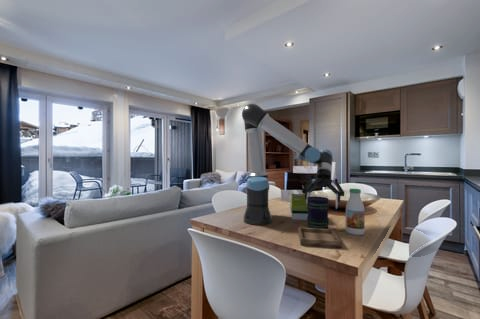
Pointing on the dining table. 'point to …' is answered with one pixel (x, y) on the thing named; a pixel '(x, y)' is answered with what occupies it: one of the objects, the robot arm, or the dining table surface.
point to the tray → (319, 237)
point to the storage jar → (317, 212)
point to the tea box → (298, 205)
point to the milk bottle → (355, 213)
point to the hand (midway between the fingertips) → (321, 205)
